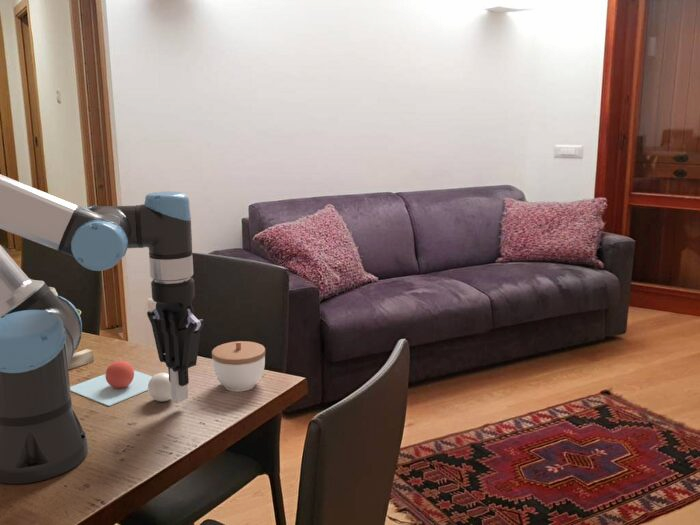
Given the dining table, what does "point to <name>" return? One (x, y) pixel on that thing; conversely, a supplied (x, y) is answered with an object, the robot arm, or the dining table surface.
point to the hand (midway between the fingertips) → (180, 399)
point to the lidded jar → (239, 364)
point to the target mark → (111, 389)
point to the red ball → (119, 374)
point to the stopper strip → (81, 358)
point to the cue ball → (160, 387)
